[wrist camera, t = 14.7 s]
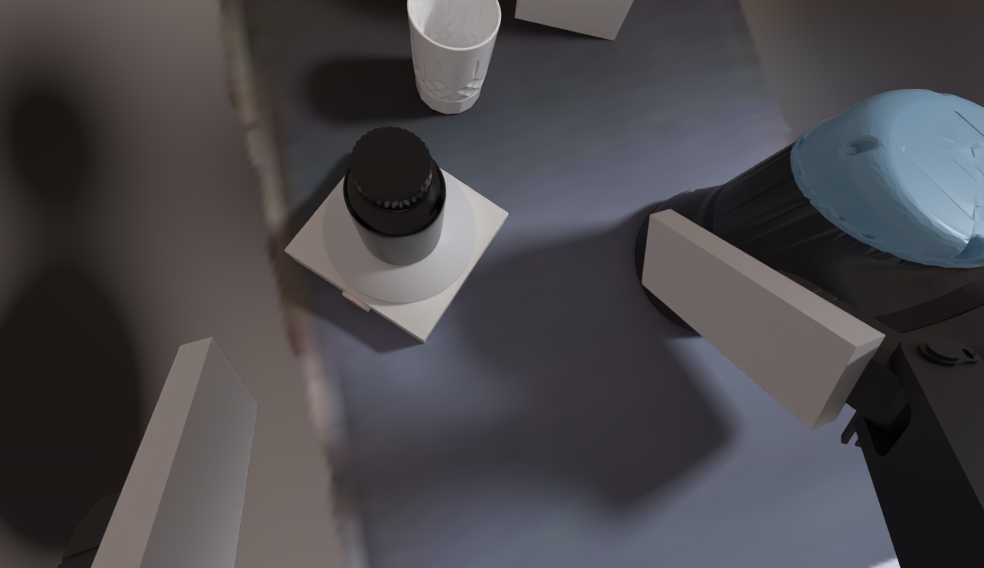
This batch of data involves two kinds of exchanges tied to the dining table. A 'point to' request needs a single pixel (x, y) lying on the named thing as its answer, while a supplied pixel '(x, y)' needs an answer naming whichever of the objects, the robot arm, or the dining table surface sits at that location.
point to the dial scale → (400, 289)
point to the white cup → (452, 49)
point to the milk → (577, 15)
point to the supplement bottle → (395, 195)
